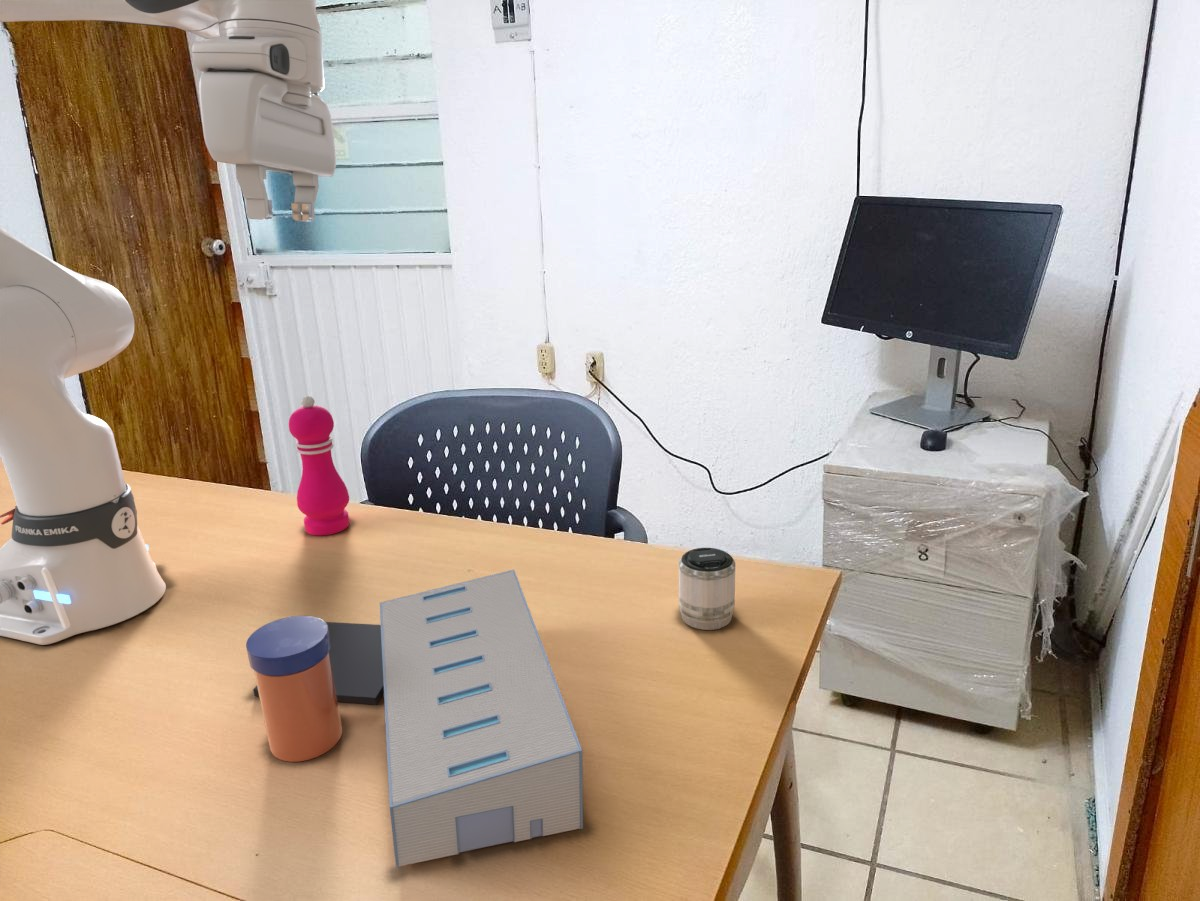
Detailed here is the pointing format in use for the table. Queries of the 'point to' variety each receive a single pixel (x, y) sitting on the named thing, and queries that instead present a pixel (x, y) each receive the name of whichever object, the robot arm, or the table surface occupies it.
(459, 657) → the warehouse
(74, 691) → the table surface
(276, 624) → the jam lid
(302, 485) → the pepper mill
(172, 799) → the table surface
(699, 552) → the camera lens
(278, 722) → the jam jar
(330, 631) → the mat
